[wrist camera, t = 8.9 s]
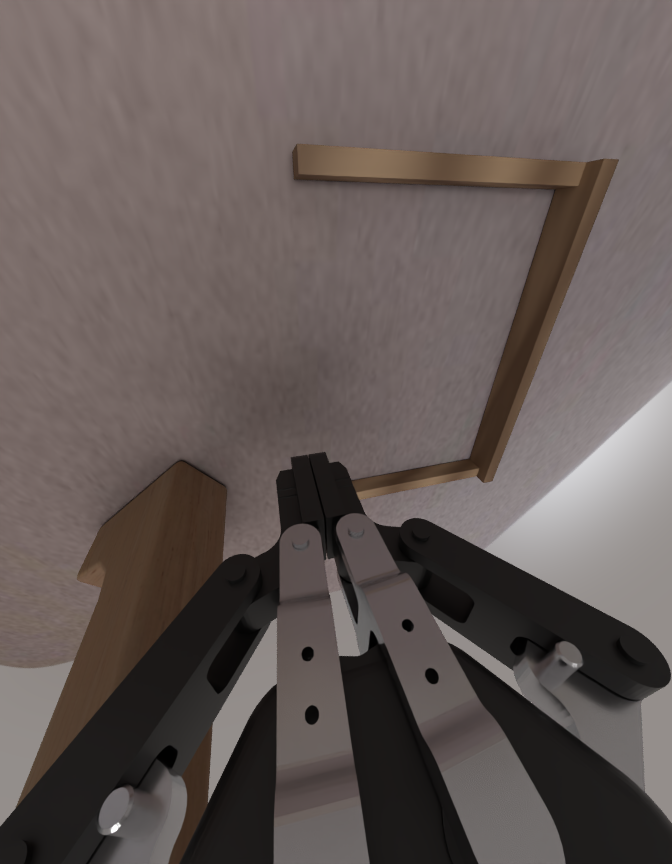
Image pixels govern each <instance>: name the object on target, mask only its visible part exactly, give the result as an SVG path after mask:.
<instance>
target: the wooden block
mask: <svg viewBox="0 0 672 864" xmlns="http://www.w3.org/2000/svg"><path fill="white" fill-rule="evenodd" d="M226 498H227V490H226V488H225V487H224V486H223V485H221V484H220V483H218V482H216V481H215V480H213V479H211V478H210V477H208V476H206V475H205V474H203V473H202V472H200V471H198V470H197V469H195V468H193V467H192V466H190V465H188V464H187V463H185V462H183V461H179V462H177V463H176V464H175V465H173V466H172V467H171V468H170V469H169V470H168V471H166V472H165V473H164V474H163V475H162V476H161V477H159V478H158V479H157V480H156V481H155V482H154V483H152V484H151V485H150V486H149V487H148V488H146V489H145V490H144V491H143V492H142V493H141V494H139V495H138V496H137V497H136V498H135V499H134V500H132V501H131V502H130V503H129V504H128V505H127V506H125V507H124V508H123V509H122V510H121V511H120V512H118V513H117V514H116V515H115V516H114V517H113V518H111V519H110V520H109V521H108V522H107V523H106V524H104V525H103V526H102V527H101V528H100V530H99V532H98V534H97V536H96V538H95V540H94V542H93V544H92V546H91V548H90V550H89V552H88V554H87V556H86V558H85V560H84V563H83V565H82V567H81V569H80V571H79V573H78V576H77V580H78V581H80V582H83V583H87V584H90V585H94V586H97V587H101V592H100V596H99V599H98V602H97V605H96V607H95V610H94V612H93V615H92V617H91V620H90V622H89V625H88V627H87V630H86V632H85V635H84V637H83V640H82V642H81V645H80V647H79V650H78V652H77V655H76V658H75V660H74V663H73V665H72V668H71V670H70V673H69V675H68V678H67V680H66V683H65V685H64V688H63V690H62V693H61V696H60V698H59V701H58V703H57V706H56V708H55V710H54V713H53V716H52V718H51V721H50V723H49V726H48V728H47V731H46V733H45V736H44V738H43V741H42V743H41V746H40V748H39V751H38V753H37V756H36V758H35V761H34V763H33V766H32V769H31V771H30V774H29V776H28V778H27V781H26V783H25V786H24V788H23V791H22V794H21V796H20V799H19V801H18V804H17V806H18V805H19V804H20V803H21V801H22V800H23V799H24V798H25V797H26V795H27V794H28V793H29V792H30V791H31V789H32V788H33V787H34V786H35V785H36V784H37V782H38V781H39V780H40V779H41V778H42V776H43V775H44V774H45V773H46V772H47V770H48V769H49V768H50V767H51V766H52V764H53V763H54V762H55V761H56V760H57V758H58V757H59V756H60V755H61V754H62V752H63V751H64V750H65V749H66V748H67V747H68V745H69V744H70V743H71V742H72V741H73V739H74V738H75V737H76V736H77V735H78V733H79V732H80V731H81V730H82V729H83V727H84V726H85V725H86V724H87V723H88V721H89V720H90V719H91V718H92V717H93V716H94V714H95V713H96V712H97V711H98V710H99V708H100V707H101V706H102V705H103V704H104V702H105V701H106V700H107V699H108V698H109V696H110V695H111V694H112V693H113V692H114V690H115V689H116V688H117V687H118V686H119V685H120V683H121V682H122V681H123V680H124V679H125V677H126V676H127V675H128V674H129V673H130V671H131V670H132V669H133V668H134V667H135V665H136V664H137V663H138V662H139V661H140V659H141V658H142V657H143V656H144V655H145V654H146V652H147V651H148V650H149V649H150V648H151V646H152V645H153V644H154V643H155V642H156V640H157V639H158V638H159V637H160V636H161V634H162V633H163V632H164V631H165V630H166V628H167V627H168V626H169V625H170V624H171V622H172V621H173V620H174V619H175V618H176V617H177V615H178V614H179V613H180V612H181V611H182V609H183V608H184V607H185V606H186V605H187V603H188V602H189V601H190V600H191V599H192V597H193V596H194V595H195V594H196V593H197V591H198V590H199V589H200V588H201V587H202V586H203V584H204V583H205V582H206V581H207V580H208V578H209V577H210V576H211V575H212V574H213V572H214V571H215V570H216V569H217V568H218V566H219V565H220V564H221V563H222V562H223V546H224V530H225V514H226ZM212 725H213V723H212ZM212 725H211V727H210V728H209V730H208V732H207V734H206V735H205V737H204V739H203V740H202V742H201V744H200V746H199V747H198V749H197V751H196V752H195V754H194V756H193V758H192V759H191V761H190V763H189V765H188V766H187V768H186V770H185V771H184V773H183V775H182V779H183V781H184V783H185V786H186V791H187V807H186V813H185V818H184V821H183V824H182V827H181V830H180V832H179V835H178V837H177V839H176V842H175V844H174V846H173V849H172V852H171V855H170V858H169V863H168V864H179V863H180V861H181V859H182V857H183V855H184V853H185V851H186V848H187V846H188V844H189V842H190V840H191V838H192V836H193V834H194V832H195V830H196V828H197V826H198V823H199V821H200V819H201V817H202V815H203V813H204V811H205V809H206V807H207V805H208V789H209V774H210V757H211V741H212ZM17 806H16V807H17Z"/></svg>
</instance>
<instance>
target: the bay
mask: <svg viewBox="0 0 672 864" xmlns="http://www.w3.org/2000/svg"><path fill="white" fill-rule="evenodd" d="M292 154H293V170H294V179H299V180H325V181H351V182H376V183H402V184H428V185H453V186H479V187H505V188H530V189H556V190H555V193H554V196H553V199H552V202H551V205H550V209H549V212H548V215H547V218H546V221H545V224H544V227H543V230H542V234H541V237H540V240H539V243H538V246H537V249H536V252H535V256H534V259H533V262H532V265H531V268H530V271H529V274H528V278H527V281H526V284H525V287H524V290H523V293H522V296H521V299H520V303H519V306H518V309H517V312H516V315H515V318H514V321H513V325H512V328H511V331H510V334H509V337H508V340H507V343H506V347H505V350H504V353H503V356H502V359H501V362H500V365H499V368H498V372H497V375H496V378H495V381H494V384H493V387H492V390H491V394H490V397H489V400H488V403H487V406H486V409H485V412H484V416H483V419H482V422H481V425H480V428H479V431H478V434H477V437H476V441H475V444H474V447H473V450H472V453H471V456H470V459H466V460H461V461H455V462H450V463H445V464H439V465H434V466H429V467H423V468H418V469H413V470H407V471H402V472H397V473H391V474H386V475H380V476H375V477H370V478H364V479H359V480H354V481H352V483H353V486H354V488H355V490H356V493H357V495H358V498H359V500H361V499H366V498H371V497H376V496H381V495H386V494H390V493H395V492H400V491H405V490H410V489H415V488H420V487H425V486H430V485H435V484H440V483H445V482H450V481H455V480H460V479H465V478H470V477H475V476H477V477H478V478H479V479H480V480H481V481H482V482H483V483H485V482H490V481H493V478H494V475H495V473H496V470H497V468H498V465H499V463H500V460H501V458H502V455H503V453H504V450H505V448H506V445H507V442H508V440H509V437H510V435H511V432H512V430H513V427H514V425H515V422H516V420H517V417H518V415H519V412H520V410H521V407H522V404H523V402H524V399H525V397H526V394H527V392H528V389H529V387H530V384H531V382H532V379H533V377H534V374H535V371H536V369H537V366H538V364H539V361H540V359H541V356H542V354H543V351H544V349H545V346H546V344H547V341H548V338H549V336H550V333H551V331H552V328H553V326H554V323H555V321H556V318H557V316H558V313H559V311H560V308H561V306H562V303H563V300H564V298H565V295H566V293H567V290H568V288H569V285H570V283H571V280H572V278H573V275H574V273H575V270H576V267H577V265H578V262H579V260H580V257H581V255H582V252H583V250H584V247H585V245H586V242H587V240H588V237H589V235H590V232H591V229H592V227H593V224H594V222H595V219H596V217H597V214H598V212H599V209H600V207H601V204H602V202H603V199H604V196H605V194H606V191H607V189H608V186H609V184H610V181H611V179H612V176H613V174H614V171H615V169H616V166H617V164H618V161H619V160H617V159H600V160H596V161H591V162H571V161H555V160H540V159H524V158H509V157H494V156H478V155H463V154H447V153H432V152H416V151H401V150H386V149H370V148H355V147H339V146H324V145H308V144H297V145H296V146H295V148H294V150H293V152H292Z"/></svg>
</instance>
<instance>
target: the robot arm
mask: <svg viewBox="0 0 672 864" xmlns="http://www.w3.org/2000/svg"><path fill="white" fill-rule="evenodd" d="M291 464H292V469H291V470H284V471H280V473H279V475H278V477H277V479H276V485H277V494H278V504H279V514H280V524H281V535H280V537H279V540H278V541H277V543H276V544H275V545H274V546H273V547H272V548H271V549H270V550H268V551H267V552H265V553H263V554H261V555H259V556H257V557H255V558H254V557H252V556H250V555H247V554H238V555H234V556H232V557H229V558H228V559H226V560H225V561H223V562H222V563H221V564H220V565H219V566H218V568H217V569H216V570H215V571H214V572H213V574H212V575H211V576H210V577H209V578H208V580H207V581H206V582H205V583H204V584H203V586H202V587H201V588H200V589H199V590H198V591H197V593H196V594H195V595H194V596H193V597H192V599H191V600H190V601H189V602H188V603H187V605H186V606H185V607H184V608H183V609H182V611H181V612H180V613H179V614H178V615H177V617H176V618H175V619H174V620H173V621H172V622H171V624H170V625H169V626H168V627H167V628H166V630H165V631H164V632H163V633H162V634H161V636H160V637H159V638H158V639H157V640H156V642H155V643H154V644H153V645H152V646H151V648H150V649H149V650H148V651H147V652H146V654H145V655H144V656H143V657H142V658H141V659H140V661H139V662H138V663H137V664H136V665H135V667H134V668H133V669H132V670H131V671H130V673H129V674H128V675H127V676H126V677H125V679H124V680H123V681H122V682H121V683H120V685H119V686H118V687H117V688H116V689H115V690H114V692H113V693H112V694H111V695H110V696H109V698H108V699H107V700H106V701H105V702H104V704H103V705H102V706H101V707H100V708H99V710H98V711H97V712H96V713H95V714H94V716H93V717H92V718H91V719H90V720H89V721H88V723H87V724H86V725H85V726H84V727H83V729H82V730H81V731H80V732H79V733H78V735H77V736H76V737H75V738H74V739H73V741H72V742H71V743H70V744H69V745H68V747H67V748H66V749H65V750H64V751H63V752H62V754H61V755H60V756H59V757H58V758H57V760H56V761H55V762H54V763H53V764H52V766H51V767H50V768H49V769H48V770H47V772H46V773H45V774H44V775H43V776H42V778H41V779H40V780H39V781H38V782H37V784H36V785H35V786H34V787H33V788H32V789H31V791H30V792H29V793H28V794H27V795H26V797H25V798H24V799H23V800H22V801H21V803H20V804H19V805H18V806H17V807H16V809H15V810H14V811H13V812H12V813H11V815H10V816H9V817H8V818H7V819H6V821H5V822H4V823H3V824H2V825H1V826H0V864H168V863H169V858H170V855H171V852H172V849H173V846H174V844H175V842H176V839H177V837H178V835H179V832H180V830H181V827H182V824H183V821H184V818H185V813H186V807H187V791H186V786H185V783H184V781H183V779H182V775H183V773H184V771H185V770H186V768H187V766H188V765H189V763H190V761H191V759H192V758H193V756H194V754H195V752H196V751H197V749H198V747H199V746H200V744H201V742H202V740H203V739H204V737H205V735H206V734H207V732H208V730H209V728H210V727H211V725H212V723H213V721H214V720H215V718H216V716H217V715H218V713H219V711H220V710H221V708H222V706H223V704H224V703H225V701H226V699H227V698H228V696H229V694H230V692H231V691H232V689H233V687H234V685H235V684H236V682H237V680H238V679H239V677H240V675H241V674H242V672H243V670H244V668H245V667H246V665H247V663H248V661H249V660H250V658H251V656H252V654H253V653H254V651H255V649H256V648H257V646H258V644H259V642H260V641H261V639H262V637H263V636H264V634H265V632H266V630H267V629H268V627H269V625H270V623H271V621H273V620H274V619H276V618H277V684H276V685H275V686H273V687H272V688H271V689H270V690H269V691H268V692H267V694H266V695H265V696H264V697H263V698H262V700H261V701H260V702H259V704H258V705H257V706H256V708H255V709H254V711H253V713H252V714H251V716H250V718H249V720H248V722H247V724H246V726H245V728H244V730H243V732H242V734H241V736H240V738H239V740H238V742H237V744H236V746H235V748H234V751H233V753H232V755H231V757H230V759H229V761H228V763H227V765H226V767H225V769H224V771H223V774H222V776H221V778H220V780H219V782H218V784H217V786H216V788H215V790H214V792H213V794H212V796H211V799H210V801H209V803H208V805H207V807H206V809H205V811H204V813H203V815H202V817H201V819H200V821H199V823H198V826H197V828H196V830H195V832H194V834H193V836H192V838H191V840H190V842H189V844H188V846H187V848H186V851H185V853H184V855H183V857H182V859H181V861H180V863H179V864H672V823H671V822H670V821H669V820H668V818H667V817H666V815H665V814H664V813H663V812H662V810H661V809H660V808H659V807H658V806H657V805H656V804H655V803H654V801H653V800H652V799H651V798H650V797H649V796H648V795H647V794H646V793H645V783H644V762H643V741H642V722H641V721H642V720H641V701H642V700H643V699H644V698H646V697H647V696H649V695H651V694H653V693H654V692H656V691H658V690H660V689H661V688H663V687H665V686H666V685H667V684H668V683H669V681H670V678H671V673H670V668H669V665H668V663H667V661H666V660H665V658H664V656H663V655H662V653H661V652H660V651H659V649H658V648H657V647H656V646H655V645H654V644H653V643H652V642H651V641H650V640H649V639H648V638H647V637H645V636H644V635H643V634H641V633H640V632H638V631H637V630H635V629H634V628H632V627H630V626H628V625H626V624H624V623H622V622H621V621H619V620H617V619H615V618H613V617H611V616H609V615H607V614H605V613H603V612H601V611H599V610H597V609H596V608H594V607H592V606H590V605H588V604H586V603H584V602H582V601H580V600H578V599H576V598H575V597H573V596H571V595H569V594H567V593H565V592H563V591H561V590H559V589H557V588H556V587H554V586H552V585H550V584H548V583H546V582H544V581H542V580H540V579H538V578H536V577H534V576H533V575H531V574H529V573H527V572H525V571H523V570H521V569H519V568H517V567H515V566H513V565H512V564H509V563H508V562H506V561H504V560H502V559H500V558H498V557H496V556H494V555H492V554H491V553H488V552H487V551H485V550H483V549H481V548H479V547H477V546H475V545H473V544H471V543H469V542H468V541H466V540H464V539H462V538H460V537H458V536H456V535H454V534H452V533H450V532H448V531H447V530H445V529H443V528H441V527H439V526H437V525H435V524H433V523H431V522H429V521H427V520H424V519H420V518H412V519H409V520H407V521H405V522H404V523H403V524H402V526H401V527H391V526H383V525H379V524H377V523H375V522H373V521H372V520H371V519H370V518H369V517H367V516H366V514H365V512H364V510H363V508H362V505H361V503H360V500H359V498H358V495H357V493H356V490H355V488H354V486H353V483H352V481H351V479H350V476H349V473H348V471H347V469H346V468H345V467H344V466H343V465H342V464H341V463H340V462H333V463H329V461H328V458H327V455H326V453H325V452H322V453H315V454H309V455H303V456H296V457H291ZM326 553H327V557H328V559H331V558H334V559H335V562H336V566H337V578H338V581H339V584H340V587H341V590H342V593H343V596H344V599H345V602H346V604H347V608H348V611H349V614H350V617H351V620H352V622H353V626H354V629H355V632H356V638H357V643H358V648H359V651H360V656H339V654H338V647H337V641H336V633H335V626H334V619H333V613H332V605H331V600H330V595H329V591H328V584H327V577H326V570H325V562H324V560H326ZM432 615H434V616H435V617H437V618H438V619H439V620H441V621H442V622H444V623H445V624H447V625H448V626H450V627H451V628H452V629H454V630H455V631H457V632H458V633H460V634H461V635H463V636H464V637H465V638H467V639H468V640H470V641H471V642H473V643H474V644H476V645H477V646H478V647H480V648H481V649H483V650H484V651H486V652H487V653H489V654H490V655H491V656H493V657H494V658H496V659H497V660H499V661H500V662H502V663H503V664H504V665H506V666H507V667H509V668H510V669H512V670H513V671H514V676H515V678H516V681H517V683H518V686H519V687H520V689H521V692H522V694H523V695H524V696H525V697H526V698H524V697H523V696H522V695H520V694H519V693H518V692H517V691H515V690H514V689H513V688H511V687H510V686H509V685H507V684H506V683H505V682H503V681H502V680H501V679H500V678H498V677H497V676H496V675H494V674H493V673H492V672H490V671H489V670H488V669H486V668H485V667H484V666H483V665H481V664H480V663H479V662H477V661H476V660H475V659H473V658H472V657H471V656H469V655H468V654H467V653H465V652H464V651H462V650H461V649H459V648H458V647H456V646H454V645H452V644H450V643H448V642H447V641H446V639H445V637H444V636H443V634H442V632H441V630H440V628H439V627H438V625H437V623H436V621H435V619H434V618H433V616H432ZM527 699H528V700H529V701H528V700H527ZM531 702H532V703H533V704H532V703H531Z"/></svg>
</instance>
